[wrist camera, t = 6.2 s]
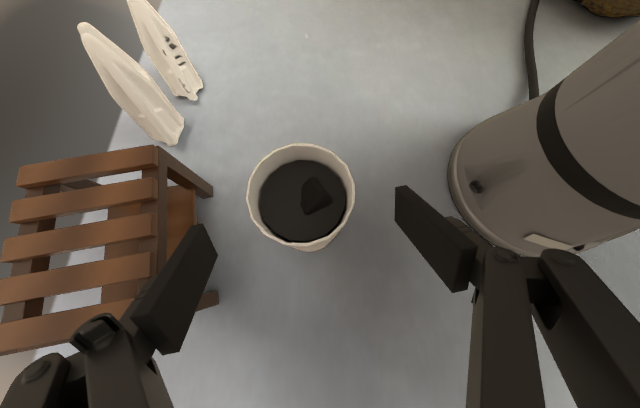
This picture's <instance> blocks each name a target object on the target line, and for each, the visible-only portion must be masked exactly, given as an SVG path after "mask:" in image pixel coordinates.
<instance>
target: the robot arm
mask: <svg viewBox="0 0 640 408" xmlns="http://www.w3.org/2000/svg"><path fill="white" fill-rule="evenodd" d="M538 4H539V0H531V4H530V8H529V12H528V15H527V20H526V25H525V35H524V50H525V60H526V67H527V74H528V85H529V101H527V102H525V103H522V104H520V105H518V106H516V107H513V108H511V109H509V110H507V111H504V112H502V113H500V114H498V115H495V116H493V117H491V118H489V119H487V120H485V121H483V122H482V123H480V124H478V125H477V126H476V127H474V128H473V129H472V130H471V131H470V132H469V133H468V134H467V135H466V136H464V137H463V138H462V139H461V140H460V142H459V143H458V144H457V145H456V147H455V148H454V150H453V152H452V155H451V157H450V161H449V166H448V183H449V188H450V192H451V195H452V198H453V200H454V202H455V204H456V206H457V208H458V210H459V212H460V213H461V215H462V216H463V217H464V219H465V220H466V221H467V223H468V224H469V225H470V226H471V227H472V228H473V229H474V230H475V231H476V232H477V233H479V234H480V235H481V236H482V237H484V238H485V239H486V240H488V241H489V242H491V243H492V244H494V245H496V246H498V247H493V246H492V245H491V244H490V243H488V242H487V241H486V240H485V239H483V238H482V237H481V236H479V235H478V234H477V233H476V232H474V231H473V230H472V229H470V228H469V227H467V225H465V224H464V223H463V222H462V221H460V220H458V219H456V218H453V217H451V216H449V217H443V216H442V215H441V214H440V213H439V212H437V211H436V210H435V209H434V208H433V207H431V206H430V205H429V204H428V203H427V202H426V201H424V200H423V199H422V198H421V197H420V196H418V195H417V194H416V193H415V192H414V191H412V190H411V189H410V188H409V187H408V186H406V185H405V186H400V187H396V188H395V222H396V223H397V224H398V225H399V227H400V228H401V229H402V231H403V232H404V233H405V234H406V236H407V237H408V238H409V239H410V241H411V242H412V243H413V244H414V246H415V247H416V248H417V249H418V251H419V252H420V253H421V254H422V256H423V257H424V258H425V259H426V261H427V262H428V263H429V264H430V266H431V267H432V268H433V269H434V271H435V272H436V273H437V275H438V276H439V277H440V278H441V280H442V281H443V282H444V283H445V285H446V286H447V287H448V288H449V290H450V291H451V292H452V293H455V292H459V291H464V290H467V288H468V285H469V281H470V282H471V283H472V284H473V285H474V286H475V291H474V294H473V298H472V301H471V303H473V314H472V328H471V342H470V356H469V369H468V383H467V397H466V408H546V407H545V401H544V394H543V388H542V381H541V374H540V368H539V361H538V355H537V348H536V341H535V335H534V328H533V322H532V315H533V317H534V319H535V321H536V323H537V325H538V327H539V329H540V332H541V334H542V336H543V338H544V340H545V342H546V344H547V346H548V348H549V350H550V352H551V354H552V356H553V358H554V360H555V362H556V364H557V366H558V368H559V370H560V372H561V374H562V376H563V378H564V380H565V382H566V385H567V387H568V389H569V391H570V393H571V395H572V397H573V399H574V401H575V403H576V405H577V407H578V408H640V323H639V322H638V321H637V319H636V318H635V317H634V316H633V315H632V314H631V313H630V312H629V310H628V309H627V308H626V307H625V306H624V305H623V304H622V303H621V301H620V300H619V299H618V298H617V297H616V296H615V295H614V294H613V292H612V291H611V290H610V289H609V288H608V287H607V286H606V285H605V284H604V282H603V281H602V280H601V279H600V278H599V277H598V276H597V275H596V273H595V272H594V271H593V270H592V269H591V268H590V267H589V266H588V264H587V263H586V262H585V261H584V260H583V259H581V258H580V257H579V256H577V255H575V254H576V253H579V252H583V251H586V250H589V249H591V248H593V247H596V246H598V245H599V244H601V243H603V242H605V241H609V240H612V239H615V238H617V237H620V236H622V235H625V234H627V233H630V232H632V231H634V230H637V229H639V228H640V20H639V21H638V22H637V23H635V24H634V25H633V26H631V27H630V28H629V29H628V30H626V31H625V32H624V33H622V34H621V35H620V36H619V37H617V38H616V39H615V40H613V41H612V42H611V43H609V44H608V45H607V46H606V47H604V48H603V49H602V50H600V51H599V52H598V53H597V54H595V55H594V56H593V57H591V58H590V59H589V60H588V61H586V62H585V63H584V64H582V65H581V66H580V67H579V68H577V69H576V70H575V71H573V72H572V73H571V74H570V75H569V76H567V77H566V78H565V79H563V80H562V81H561V82H560V83H558V84H557V85H556V86H555V87H553V88H552V89H551V90H549V91H548V92H547V93H545V94H543V95H541V96H539V88H538V78H537V70H536V63H535V57H534V48H533V29H534V21H535V16H536V11H537V7H538ZM518 254H519V255H523V256H529V257H521V256H519V255H518ZM217 256H218V254H217V252H216V250H215V248H214V246H213V244H212V242H211V240H210V238H209V235H208V233H207V231H206V229H205V227H204V225H203V224H198V225H192V226H191V227H190V228H189V230H188V231H187V233H186V234H185V236H184V237H183V239H182V240H181V242H180V243H179V245H178V246H177V247H176V249H175V250H174V252H173V253H172V255H171V256H170V258H169V259H168V261H167V262H166V264H165V265H164V267H163V268H162V270H161V271H160V273H159V274H158V275H154V276H153V277H152V278H150V279H149V280H148V281H147V282H146V283H145V284H144V285H143V287H142V288H141V290H140V291H139V294H137V295H136V297H135V298H134V301H132V302H131V304H130V305H129V307H128V308H127V309H126V311H125V312H124V314H123V315H122V317H121V318H120V319H119V321H118V320H117V319H116V318H115V317H114V316H113V315H112V314H111V313H102V314H99V315H96V316H94V317H92V318H90V319H89V320H87V321H86V322H85V323H83V324H82V325H81V326H80V327H79V328H77V329H76V330H75V332H74V333H73V334H72V336H71V337H70V340H69V343H71V344H72V345H73V346H74V347H75V348H77V349H78V350H79V351H80V352H78V353H76V354H73V355H71V356H69V357H67V358H64V357H63V356H62V355H60V354H59V353H51V354H48V355H45V356H43V357H41V358H40V359H38V360H36V361H34V362H33V363H31V364H30V365H29V366H27V367H26V368H25V369H24V370H23V371H22V372H21V373H20V374H19V375H18V376H17V377H16V378H15V380H14V381H13V383H12V384H11V386H10V388H9V390H8V392H7V394H6V396H5V398H4V400H3V402H2V403H1V405H0V408H174V407H173V404H172V402H171V399H170V397H169V394H168V392H167V389H166V387H165V384H164V382H163V379H162V376H161V374H160V371H159V369H158V366H157V364H156V361H155V360H154V359H153V358H152V355H153V353H154V351H155V349H157V350H158V351H159V352H160V353H161V354H162V355H166V354H171V353H175V352H179V351H180V349H181V346H182V344H183V341H184V339H185V336H186V334H187V331H188V329H189V326H190V324H191V321H192V319H193V316H194V314H195V311H196V309H197V306H198V304H199V301H200V299H201V296H202V294H203V291H204V289H205V286H206V284H207V281H208V279H209V276H210V274H211V271H212V269H213V266H214V264H215V261H216V259H217ZM531 313H532V315H531Z"/></svg>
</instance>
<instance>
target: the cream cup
mask: <svg viewBox="0 0 640 408" xmlns="http://www.w3.org/2000/svg"><path fill="white" fill-rule="evenodd" d="M246 202H247V205H248V209H249V213H250V216H251V219H252V220H253V222H254V223H255V224H256V225H257V226H258V228H259V229H260V230H261V231H262V232H263V234H264V235H265V236H267V237H270V238H272V239H274V240H276V241H278V242H280V243H282V244H284V245H286V246H289V247H292V248H294V249H297V250H300V251H307V252H314V251H317V250H319V249H322V248H324V247H325V246H326V245H327V244H329V243H330V242H331V241H332V240H333V238H334V237H335V236H336V235H337V234H338V232H339V231H340V230H341V229H342V227H343V226H344V225H345V224H346V222H347V220H348V218H349V215H350V213H351V211H352V209H353V206H354V204H355V183H354V181H353V178H352V176H351V174H350V171H349V169H348V167H347V165H346V164H345V163H344V162H343V161H342V160H341V159H340V158H339V157H338V156H337V155H336V154H335V153H334V152H332V151H330V150H328V149H325V148H323V147H320V146H318V145H316V144H303V143H293V144H290V145H287V146H284V147H281V148H277V149H275V150H274V151H272V152H271V153H270V154H268V155H267V156H266V157H264V158H263V159H262V160H261V161H259V163H258V164H257V166H256V168H255V169H254V171H253V173H252V174H251V176H250V178H249V180H248V187H247V194H246Z"/></svg>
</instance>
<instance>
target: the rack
mask: <svg viewBox="0 0 640 408" xmlns="http://www.w3.org/2000/svg"><path fill="white" fill-rule="evenodd" d="M140 170H142V179H137V180H131V181H125V182H119V183H114V184H108V185H101V184H98V183H96V182H93V181H90V180H88V179H92V178H98V177H104V176H110V175H116V174H122V173H128V172H134V171H140ZM167 178H168V179H170V180H172V181H173V182H175V183H177V184H179V185H177V186H171V187H167ZM16 186H18V187H22V188H25V189H27V191H26V196H25V199H19V200H13V202H12V206H11V211H10V216H9V222H10V223H17V224H20V227H19V233H18V236H15V237H9V238H5V240H4V245H3V249H2V254H1V259H0V262H10V263H12V262H13V264H12V269H11V275H10V277H9V278H3V279H0V306H1V305H4V311H3V316H2V321H1V323H0V356H3V355H8V354H12V353H17V352H23V351H28V350H33V349H38V348H43V347H48V346H53V345H58V344H63V343H68V342H69V340H70V337H71V336H72V334H73V333H74V332H75V330H76V329H77V328H79V327H80V326H81V325H82V324H83V323H85V322H86V321H87V320H89V319H90V318H92V317H94V316H96V315H99V314H102V313H111V314H112V315H113V316H114V317H115V318H116V319H117V320H118V321H119V319H120V318H121V317H122V315H123V314H124V312H125V311H126V309H127V308H128V307H129V305H130V304H131V302H132V301H134V298H135V297H136V295H137V294H139V291H140V290H141V288H142V287H143V285H144V284H145V283H146V282H147V281H148V280H149V279H150V278H152V277H153V276H154V275H158V274H159V273H160V271H161V270H162V268H163V267H164V265H165V264H166V262H167V261H168V259H169V258H170V256H171V255H172V253H173V252H174V250H175V249H176V247H177V246H178V245H179V243H180V242H181V240H182V239H183V237H184V236H185V234H186V233H187V231H188V230H189V228H190V227H191V226H192V225H197V215H196V195H197V196H199V197H200V198H207V197H213V189H212V186H211V185H210V184H208V183H207V182H206V181H204V180H203V179H202V178H201V177H199V176H198V175H197V174H195V173H194V172H193V171H191V170H190V169H189V168H187V167H186V166H185V165H183V164H182V163H181V162H180V161H178V160H177V159H176V158H174V157H173V156H172V155H170V154H169V153H168V152H166V151H165V150H164V149H162V148H161V147H160V146H154V145H147V146H141V147H135V148H129V149H123V150H116V151H110V152H105V153H98V154H92V155H86V156H80V157H74V158H67V159H61V160H55V161H49V162H43V163H38V164H31V165H25V166H20V168H19V173H18V177H17V183H16ZM60 191H61V193H60ZM102 209H108V219H107V220H106V221H100V222H94V223H89V224H83V225H77V226H72V227H66V228H60V229H55V230H54V228H55V221H56V217H62V216H67V215H73V214H78V213H85V212H90V211H96V210H102ZM100 246H105V256H104V260H101V261H95V262H90V263H84V264H79V265H74V266H68V267H63V268H57V269H52V270H48V269H49V262H50V256H51V255H56V254H62V253H67V252H73V251H78V250H84V249H89V248H95V247H100ZM97 287H102V293H101V304H97V305H92V306H87V307H82V308H77V309H71V310H66V311H61V312H56V313H51V314H46V315H42V309H43V302H44V297H50V296H55V295H60V294H66V293H71V292H76V291H81V290H87V289H92V288H97ZM217 304H219V298H218V291H214V292H208V293H203V294H202V296H201V299H200V301H199V304H198V306H197V309H196V311H199V310H202V309H205V308H208V307H211V306H214V305H217ZM196 311H195V312H196Z"/></svg>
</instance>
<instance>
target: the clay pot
mask: <svg viewBox="0 0 640 408" xmlns="http://www.w3.org/2000/svg"><path fill="white" fill-rule="evenodd" d="M576 1H583V2H582V4H581V5H584V6H586V8H588V9H589V10H590V11H591V12H593V13H595V14H597V15H598V16H609V17H615V18H618V17H620V16H627V15H633V16H639V15H640V0H576Z"/></svg>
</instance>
